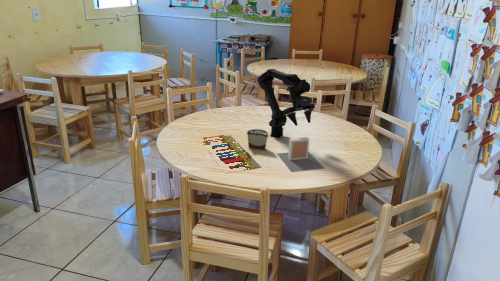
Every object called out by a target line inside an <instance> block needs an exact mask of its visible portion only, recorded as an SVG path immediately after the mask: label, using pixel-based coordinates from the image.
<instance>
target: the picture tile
mask: <svg viewBox="0 0 500 281" xmlns="http://www.w3.org/2000/svg"><path fill="white" fill-rule="evenodd" d="M288 142H289V143H288V151H287V153H288V159H289V160H297V159H307V158H308V152H309V147H310V138H309V137H294V138H289V141H288Z"/></svg>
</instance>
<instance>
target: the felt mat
mask: <svg viewBox="0 0 500 281" xmlns="http://www.w3.org/2000/svg"><path fill="white" fill-rule="evenodd" d="M276 156H278V157H279V159H280V161H282V162H283V163H284V164H285V166H286V167H287V168H288V170H289V171H290V172H291V173H296V172H298V173H299V172H306V171H314V170H315V171H316V170H325V169H326V167H324V166H323V165H322V164H321V162H320V161H318V159H317V158H316V157H314V156H313V154H311V153H310V151H308V158H307V159H297V160H289V159H288V152H279V153H276Z"/></svg>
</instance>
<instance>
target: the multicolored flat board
mask: <svg viewBox="0 0 500 281" xmlns="http://www.w3.org/2000/svg"><path fill="white" fill-rule="evenodd" d="M213 137H219V138H223V139H221V140H220V139H215V140H220V141H222V143H227V144H221V145H214V146H212V149H215V148H217V147H225V146H228V148H227V149H221V150H216V152H218V151H225V150H229V149H230V150H235V151H229V152H224V153H217V154H216V155H221V156H218V157H219V158H220V160H221V161H223V162H224V163H225V164H229V163H234V162H242V163H243V164H242V163H240V164H241V165H240V164H237V165H235V166H229V168H230V169H233V168H239V167H245V168H247V170H246V169H245V170H244V171H249V170H248V168H249V169H250V170H254V169H255V168H256V169H261V168H262V166H261V165H260V164H259V163H258V162H257V161H256V160H255V159H254V158H253V157H252V155H251V154H250V153H249V152H248V151H247V150H246V149H244V148H243V146H241V144H239V142H237V140H236V139H235V138H234V137H233V136H232V135H231V134H229V135H224V134H219V135H215V136H213ZM207 138H212V136H206V137H205V136H203V137H202V139H204V140H205V139H207ZM208 141H213V140H208ZM208 141H207V140H206V141H203V143H205V144H204V145H210V143H211V142H208ZM233 141H234V142H237V145H236V143H233ZM213 142H218V141H213ZM238 144H239V146H238ZM204 145H203V146H204ZM222 145H224V146H222ZM237 147H240V148H237ZM240 149H242V150H240ZM231 152H236V153H234V154H238V156H233V155H234V154H233V153H232V154H229V153H231ZM244 152H245V153H244ZM222 154H228V155H222ZM226 156H228V157H226ZM230 156H233V157H230ZM222 157H226V158H222ZM236 157H237V158H236ZM245 162H246V163H245ZM247 164H248V165H249V166H245V165H247Z"/></svg>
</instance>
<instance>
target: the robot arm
mask: <svg viewBox="0 0 500 281" xmlns="http://www.w3.org/2000/svg"><path fill="white" fill-rule="evenodd" d="M275 79H277V80H278V81H281V82H282V83H283V84H284V85H285V86H287V88H286V90H285V91H286V92H288V93H289V96H290V99H291V100H289V102H290V103H291V104H292V106H291V107H287V108H283V110H282V109H281V107H280V105H279V103H278V100H277V98H276V95H275V93H274V89H273V84H274V82H273V80H275ZM257 84H258V85H259V87H260V89H261V90H263V91H264V93H265V96H266V98H267V102H268V105H269V107H270V109H271V116H270V118H271V120H270V121H269V122H268V124H269V125H268V126H269V127H271V129H270V130H271V131H270V135H269V136H270V137H275V138H281V137H282V136H283V135H284V126H286V124H287V120H288V118H289V119H290V121H291V122H292V123H293V124H294V125H295V127H296V126H297V127H298V121H297V117H296V114H297V112H300V111H303V114H304V116H305V118H306V121H307V122H308V124H310V123H311V119H312V118H311V116H312V112H313V111H314V109H315V108H316V105H315V103H313V99H312V97H311V96H309V97H306V98H304V96H302V95H303V94H305V93H307V92H310V91H311V84H310V83H309V82H308V81H306V78H305V79H301V78H300V77H299V76H298V74H296V73H286V72H283V71H280V70H277V69H276V68H270V69H269V68H268V69H267V70H266V71H265V72H263V73H261V74H260V75H259V76H258V78H257Z"/></svg>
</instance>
